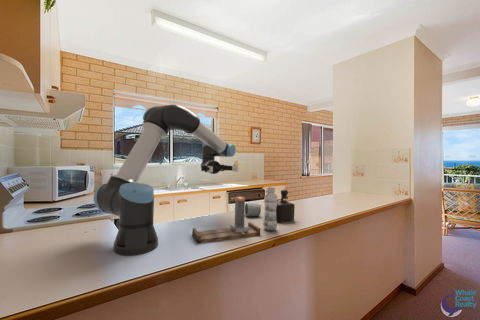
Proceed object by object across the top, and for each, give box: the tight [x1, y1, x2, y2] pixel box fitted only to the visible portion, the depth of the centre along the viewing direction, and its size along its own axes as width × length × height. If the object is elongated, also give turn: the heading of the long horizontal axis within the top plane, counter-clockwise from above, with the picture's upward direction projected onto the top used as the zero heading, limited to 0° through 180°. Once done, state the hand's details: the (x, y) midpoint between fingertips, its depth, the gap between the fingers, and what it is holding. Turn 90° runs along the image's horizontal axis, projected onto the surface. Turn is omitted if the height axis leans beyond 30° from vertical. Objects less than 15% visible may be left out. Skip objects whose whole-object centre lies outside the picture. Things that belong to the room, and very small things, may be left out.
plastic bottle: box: [262, 187, 279, 231], centre depth 109 cm, size 6×7×20 cm
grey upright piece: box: [229, 196, 249, 233], centre depth 102 cm, size 6×7×15 cm
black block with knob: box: [276, 189, 296, 223], centre depth 125 cm, size 16×11×18 cm
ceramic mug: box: [244, 202, 261, 218], centre depth 135 cm, size 11×8×8 cm
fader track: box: [191, 221, 261, 245], centre depth 100 cm, size 28×10×3 cm, turn 114°
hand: (225, 169), depth 115 cm, fingers open, 13 cm apart
